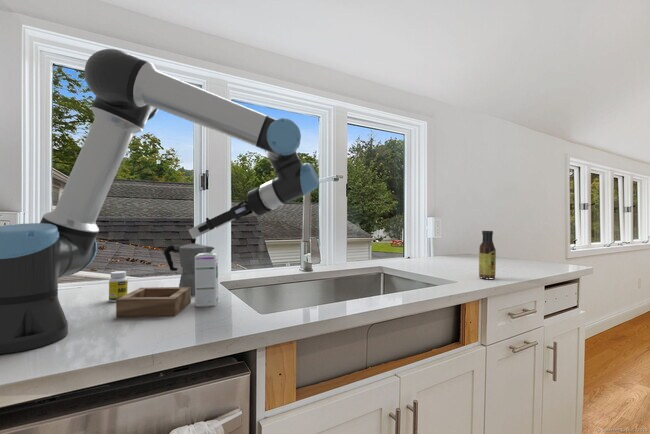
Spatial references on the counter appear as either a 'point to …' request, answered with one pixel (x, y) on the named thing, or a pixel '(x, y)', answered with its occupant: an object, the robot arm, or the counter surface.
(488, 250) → the sauce bottle
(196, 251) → the coffeepot
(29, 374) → the counter surface
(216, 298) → the syrup box
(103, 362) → the counter surface
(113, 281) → the supplement bottle
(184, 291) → the open brown wooden box
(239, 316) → the counter surface
